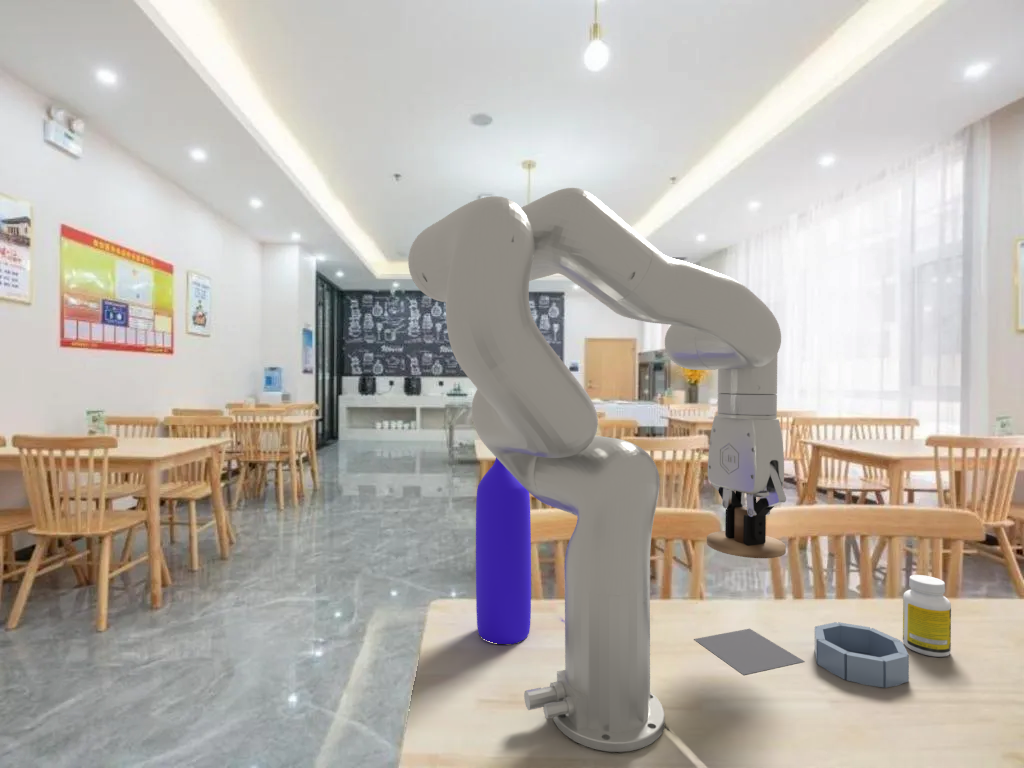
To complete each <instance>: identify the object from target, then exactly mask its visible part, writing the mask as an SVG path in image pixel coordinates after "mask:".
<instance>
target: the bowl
mask: <svg viewBox="0 0 1024 768" xmlns="http://www.w3.org/2000/svg"><path fill="white" fill-rule="evenodd" d="M814 654H815V655H814V656H815V662H816V664H817V665H818V666H820V667H822V668H823V669H825V670H827V672H829V673H831V674H833V675H835V676H837V677H839V678H840V679H843V680H846V681H847V682H853V683H856V684H860V685H865V686H870V687H876V688H878V687H879V688H882V689H883V688H885V689H886V688H891V687H897V686H900V685H902V684H905V683H908V682H909V680H910V671H909V669H910V667H909V664H910V662H909V660H910V659H909V658H910V655H909V652H908V651H907V649H906V646H905V644H904V643H903V641H901V640H900V639H898V638H897V637H894V636H891V635H890V634H887V633H884V632H882V631H881V630H878V629H876V628H874V627H870V626H865V625H858V624H851V623H845V622H841V621H840V622H839V621H838V622H836V621H834V622H830V623H825V624H821V625H816V626H815V627H814Z"/></svg>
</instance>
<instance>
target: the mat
mask: <svg viewBox="0 0 1024 768" xmlns="http://www.w3.org/2000/svg"><path fill="white" fill-rule="evenodd" d="M693 640H694V641H695V642H696V643H698V644H700V645H701V646H702V647H704V648H705V649H706V650H707V651H709V652H710V653H711V654H713V655H715V656H716V657H717V658H719V659H720V660H722V662H724V663H726V664H728V666H730V667H732V668H733V669H734V670H735V671H737V672H738V673H740V674H741V675H743V676H747V675H751V674H756V673H760V672H765V671H769V670H774V669H777V668H779V669H780V668H783V667H788V666H793V665H796V664H801V663H805V660H803V659H802V658H800V657H798V656H797V655H795V654H793V653H791V652H789V651H788V650H786V649H785V648H783V647H781V646H780V645H778V644H777V643H775V642H773V641H771V640H770V639H768V638H766V637H765V636H764V635H762V634H760V633H758V632H756V631H755V630H753V629H751V628H746V629H740V630H734V631H730V632H729V631H728V632H724V633H721V634H720V633H719V634H714V635H709V636H708V635H707V636H702V637H697V638H694V639H693Z"/></svg>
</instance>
